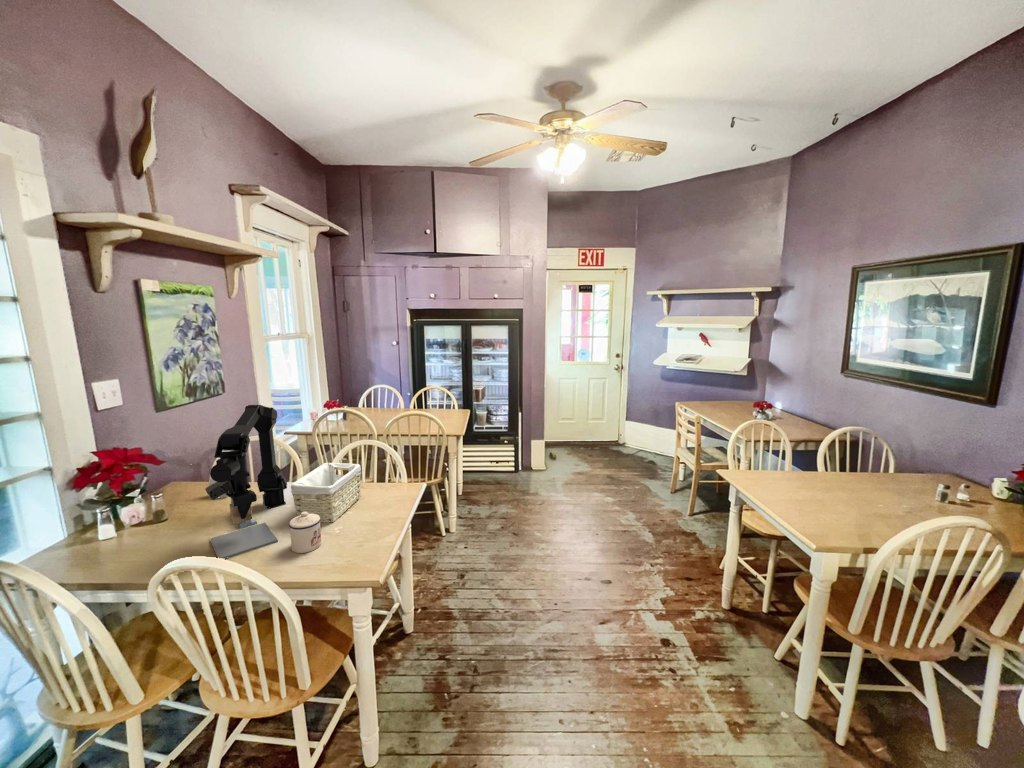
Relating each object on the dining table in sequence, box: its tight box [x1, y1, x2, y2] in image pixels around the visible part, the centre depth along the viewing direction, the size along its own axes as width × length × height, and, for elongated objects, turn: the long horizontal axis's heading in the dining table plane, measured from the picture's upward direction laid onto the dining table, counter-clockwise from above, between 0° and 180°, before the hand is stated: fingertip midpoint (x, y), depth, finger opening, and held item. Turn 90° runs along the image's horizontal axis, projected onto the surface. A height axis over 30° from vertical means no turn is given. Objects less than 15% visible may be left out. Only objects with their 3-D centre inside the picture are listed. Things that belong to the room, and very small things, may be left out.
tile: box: [210, 522, 279, 560], centre depth 136 cm, size 16×16×1 cm
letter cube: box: [229, 503, 253, 525], centre depth 134 cm, size 5×5×5 cm
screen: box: [238, 519, 258, 529], centre depth 150 cm, size 5×13×6 cm, turn 44°
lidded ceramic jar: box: [288, 511, 322, 554], centre depth 134 cm, size 12×9×12 cm
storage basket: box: [290, 462, 362, 523], centre depth 158 cm, size 24×16×15 cm
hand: (241, 515), depth 134 cm, fingers closed on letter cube, 5 cm apart
